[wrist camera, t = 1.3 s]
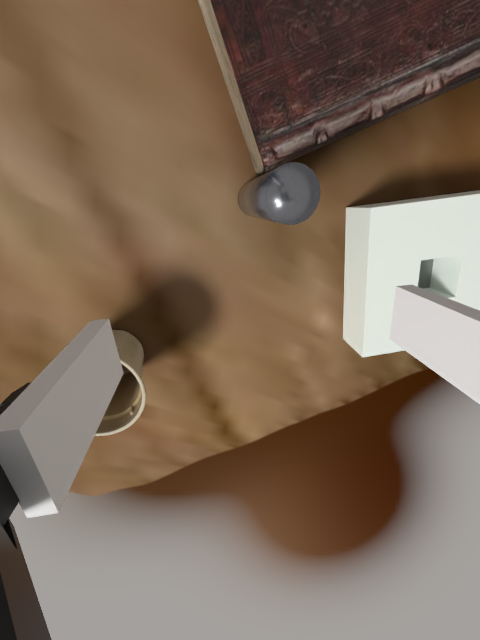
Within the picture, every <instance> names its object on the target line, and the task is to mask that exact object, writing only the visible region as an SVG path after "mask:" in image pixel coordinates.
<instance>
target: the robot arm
mask: <svg viewBox="0 0 480 640" xmlns="http://www.w3.org/2000/svg"><path fill="white" fill-rule="evenodd" d="M389 339H390V340H391V341H393V342H394V343H396V344H397V345H398V346H400V347H401V348H403V349H404V350H405V351H407V352H408V353H409V354H411V355H412V356H414V357H415V358H416V359H418V360H419V361H421V362H422V363H423V364H425V365H426V366H427V367H429V368H430V369H432V370H433V371H434V372H436V373H437V374H439V375H440V376H441V377H443V378H444V379H445V380H447V381H448V382H450V383H451V384H453V385H454V386H455V387H457V388H458V389H460V390H461V391H462V392H463V393H465V394H466V395H468V396H469V397H471V398H472V399H473V400H475V401H476V402H477V403H479V404H480V311H479V310H477V309H474V308H472V307H469V306H466V305H464V304H461V303H459V302H456V301H453V300H451V299H448V298H446V297H443V296H440V295H438V294H435V293H433V292H430V291H427V290H425V289H422V288H420V287H417V286H414V285H403V286H396V293H395V300H394V308H393V315H392V323H391V330H390V338H389ZM122 376H123V369H122V365H121V362H120V358H119V354H118V351H117V347H116V343H115V339H114V336H113V332H112V328H111V325H110V321H109V319H102V320H93V321H90V322H89V323H88V324H87V325H86V326H85V327H84V328H83V329H82V330H81V331H80V332H79V333H78V334H77V336H76V337H75V338H74V339H73V340H72V341H71V342H70V343H69V344H68V345H67V346H66V347H65V348H64V349H63V350H62V351H61V352H60V353H59V354H58V355H57V356H56V357H55V359H54V360H53V361H52V362H51V363H50V364H49V365H48V366H47V367H46V368H45V369H44V370H43V371H42V372H41V373H40V374H39V375H38V376H37V377H36V378H35V379H34V381H33V382H32V383H27V384H25V385H24V386H22V387H21V388H19V389H18V390H16V391H14V392H13V393H11V394H10V395H9V396H8V397H7V398H6V399H5V400H4V401H3V402H2V403H1V404H0V640H51V637H50V634H49V631H48V628H47V625H46V622H45V619H44V616H43V613H42V610H41V607H40V604H39V601H38V598H37V595H36V592H35V589H34V586H33V583H32V580H31V577H30V574H29V571H28V568H27V565H26V562H25V559H24V556H23V553H22V550H21V547H20V544H19V541H18V538H17V535H16V532H15V529H14V526H13V524H12V523H11V521H10V519H9V517H10V515H11V514H12V512H13V510H14V509H15V507H16V506H17V504H18V502H19V504H20V506H21V507H22V509H23V511H24V513H25V515H26V517H27V518H30V517H36V516H42V515H48V514H55V513H59V511H60V509H61V506H62V504H63V502H64V500H65V498H66V496H67V493H68V492H69V489H70V487H71V485H72V483H73V481H74V479H75V476H76V474H77V472H78V470H79V468H80V466H81V464H82V461H83V459H84V457H85V455H86V453H87V451H88V449H89V446H90V444H91V442H92V440H93V438H94V436H95V434H96V431H97V429H98V427H99V425H100V423H101V421H102V418H103V416H104V414H105V412H106V410H107V408H108V406H109V403H110V401H111V399H112V397H113V395H114V393H115V391H116V388H117V386H118V384H119V382H120V380H121V378H122Z"/></svg>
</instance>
